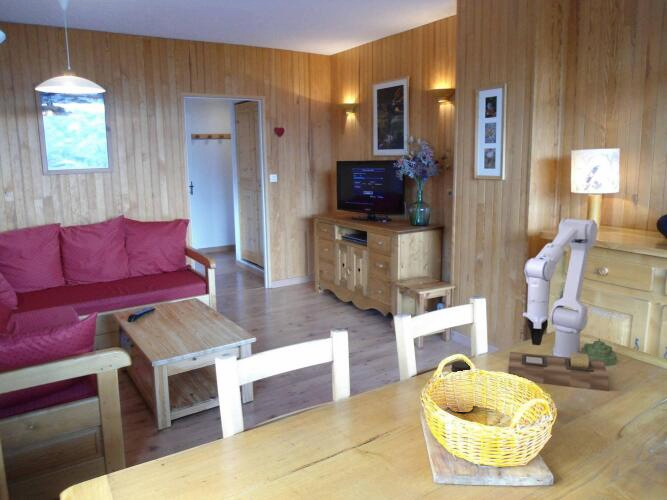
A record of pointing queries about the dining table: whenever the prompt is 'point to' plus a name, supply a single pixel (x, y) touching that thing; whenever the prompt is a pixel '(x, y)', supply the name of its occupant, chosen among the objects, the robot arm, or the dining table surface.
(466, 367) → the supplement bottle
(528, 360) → the steel peg
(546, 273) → the robot arm
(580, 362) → the brass peg
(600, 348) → the decorative artifact
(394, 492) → the dining table surface
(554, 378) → the walnut board
